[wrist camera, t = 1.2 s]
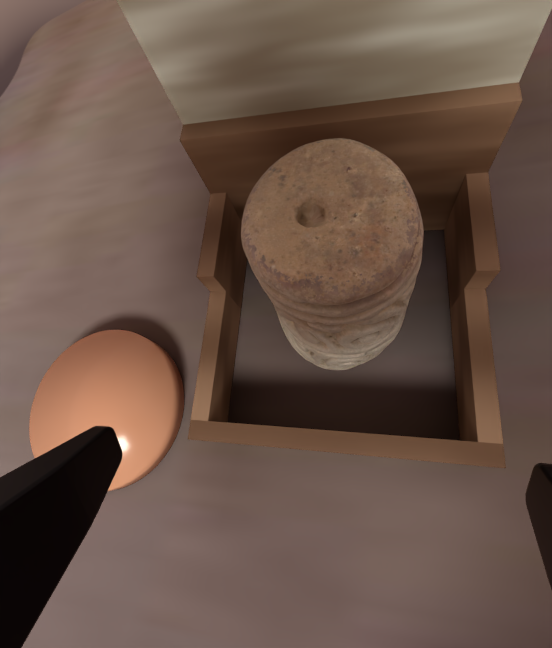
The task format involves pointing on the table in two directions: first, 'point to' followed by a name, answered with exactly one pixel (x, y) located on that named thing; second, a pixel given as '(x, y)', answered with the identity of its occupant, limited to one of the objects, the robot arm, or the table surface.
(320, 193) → the carving
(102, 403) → the terracotta saucer
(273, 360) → the table surface
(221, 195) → the cold frame
